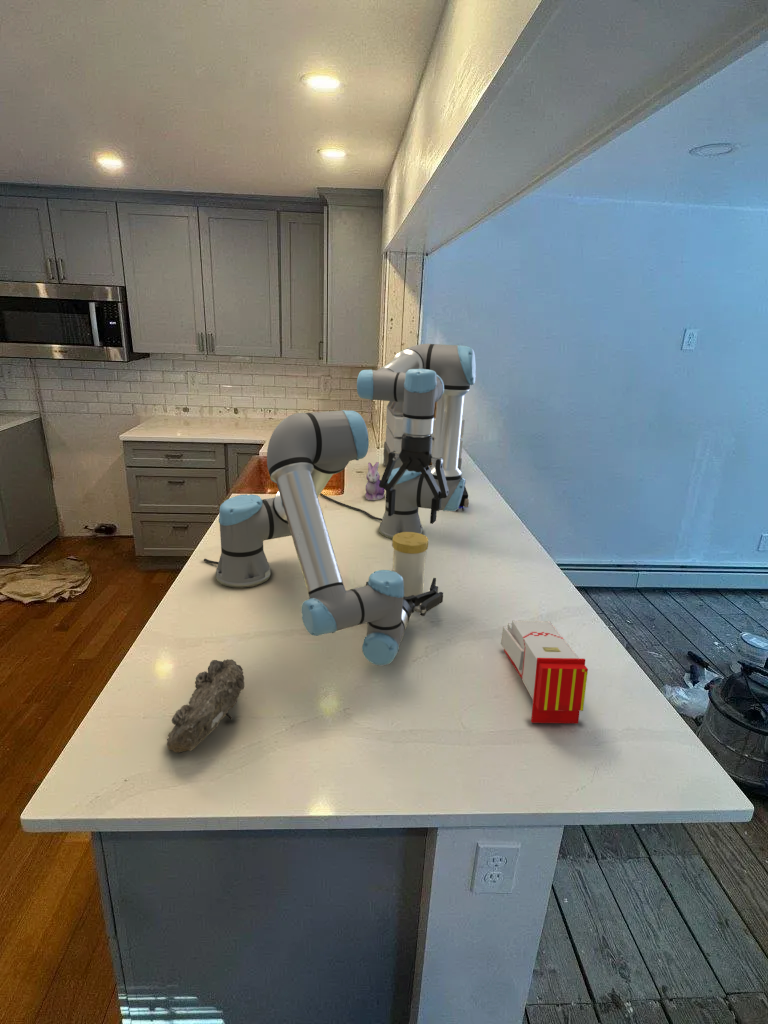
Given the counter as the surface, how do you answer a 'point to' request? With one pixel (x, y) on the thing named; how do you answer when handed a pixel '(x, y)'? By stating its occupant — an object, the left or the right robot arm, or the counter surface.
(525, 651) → the toy
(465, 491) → the figurine character
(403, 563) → the jar
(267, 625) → the counter surface
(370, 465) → the figurine
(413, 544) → the lid
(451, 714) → the counter surface
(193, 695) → the fossil
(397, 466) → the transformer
